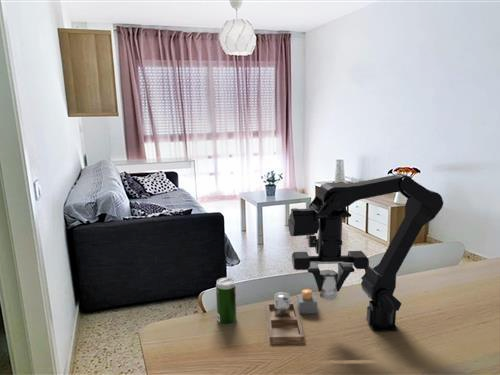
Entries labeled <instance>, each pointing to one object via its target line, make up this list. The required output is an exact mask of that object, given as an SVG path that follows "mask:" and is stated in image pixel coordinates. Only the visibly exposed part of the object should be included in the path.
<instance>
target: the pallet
mask: <svg viewBox="0 0 500 375" xmlns="http://www.w3.org/2000/svg"><path fill="white" fill-rule="evenodd" d="M265 315H266V316H265V317H266V327H267V328H266V329H267V339H268V344H269V345H273V344H275V345H276V344H279V345H280V344H306V341H305V335H304V329H303V327H302V323H301V319H300V314H299V310H298V306H297V302H295V301H292V302H290V317H275V316H274V302H266V303H265Z"/></svg>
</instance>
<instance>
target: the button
mask: <svg viewBox="0 0 500 375" xmlns="http://www.w3.org/2000/svg"><path fill="white" fill-rule="evenodd" d="M301 294H302V299H303V300H307V301H309V300H312V294H313V290H312V289H308V288H306V289H303V290H301Z"/></svg>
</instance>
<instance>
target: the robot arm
mask: <svg viewBox="0 0 500 375" xmlns="http://www.w3.org/2000/svg"><path fill="white" fill-rule="evenodd" d="M395 193H400V194H401V195H402V196H403V197H404V198H406V202H405V205H404V217H403V220H401V223H400V225H399V227H398V229H397V230H396V232H395V234H394V236H393V238H392V239H391V241H390V243H389V244H388V245H389V246H388V247H387V249H386V250H385V252H384V254H383V256H382V257H381V259H380V262H379V263H378V264H377V265H376V266H374V267H371V266H370V259H369V258H368V257H367V255H366V254H365V253H364V251H362V250H348V251H347V255H346V254H342V246H343V218H351V217H352V214H351V213H350V212H349V211H348V210H347V207H350V206H351V205H352V204H354V203H356V202H357V201H360V200H365V199H370V198H374V197H380V196H384V195H390V194H395ZM443 207H444V200H443V197H442V195H441V194H440V193H439V192H436V191H433V190H431V189H428V188H426V187H424V186H423V185H422V184H420V183H418V182H417V181H416V180H414V179H413V178H412V177H411V176H409V175H407V174H403V173H399V172H398V173H395V174H393V175H387V176H382V177H378V178H372V179H368V180H362V181H358V182H349V183H348V182H325V183H323V184H321V185H320V186H319V187H318V190H317V192H316V195H315V197H314V198H313V199H312V201H311V202H310V204H309V205H308V208H296V207H295V208H291V209H290V214H289V216H288V221H287V222H288V223H287V224H288V232H289V235H290V236H291V237H306V236H308V242H307V244H308V248H314V249H315V253H316V254H317V255H309V254H308V252H307V251H293V252H292V254H291V263H292V267H293V270H296V271H307V273H310V274H312V275H313V278H314V280H315V281H314V282H315V284H316V287H317V290H318V293H320V291H321V280H320V273H321V271H320V267H319V265H321V264H323V265H325V264H326V265H327V264H329V265H330V264H332V265H333V264H337V274H338V282H337V293H339V292H340V290H341V289H342V287H343V285H344V283H345V282H346V279H347V278H348V277H349V275H350V274H351V273H355V269H356V270H365V272H364V274H363V275H362V276H361V278H360V279H361V280H362V281H361V283H360V285H361V289H362V290H363V292H364V293H365V294H366V295H367V296H366V297H368V298H369V304H368V306H367V307H366V321H367V323H368V325H369V326H370V327H371V329H372V331H374V332H383V331H385V332H386V331H388V332H389V331H392V332H393V331H398V327H397V325H396V319H397V317H396V316H397V311H399V310H400V309H401V306H402V302H401V301H400V300H398V299H397V298H396V297H395V296H394V293H395V290H396V288H397V274H398V272H399V270H400V268H401V267H402V265H403V263H404V261H405V259H406V258H407V256H408V254H409V252H410V250H411V248H412V247H413V245H414V243H415V241H416V240H417V238H418V236H419V234H420V232H421V230H422V228H423V227H424V226H425V225H427V224H428V223H429V222H431V221H433V220H434V219H435V218H436V217H437V215H438V214H439V212H440V211H441V210H442V209H443ZM315 234H318V236H317V235H315Z"/></svg>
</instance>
